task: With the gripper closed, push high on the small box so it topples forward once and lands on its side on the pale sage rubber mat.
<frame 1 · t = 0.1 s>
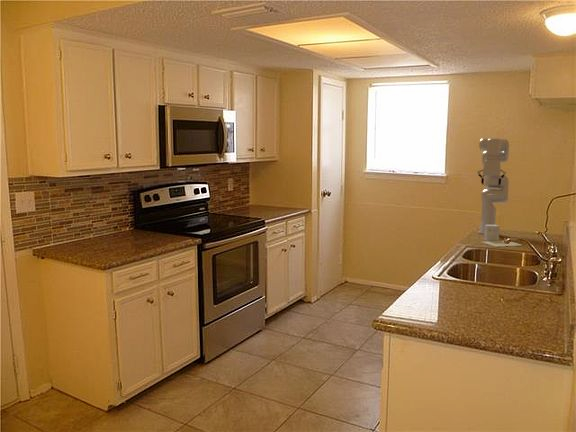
hand: (490, 184, 319), 37 cm above the countertop, tool pointing down, fingers open, 9 cm apart
small box: (491, 241, 326), on the countertop
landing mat: (501, 244, 315), on the countertop
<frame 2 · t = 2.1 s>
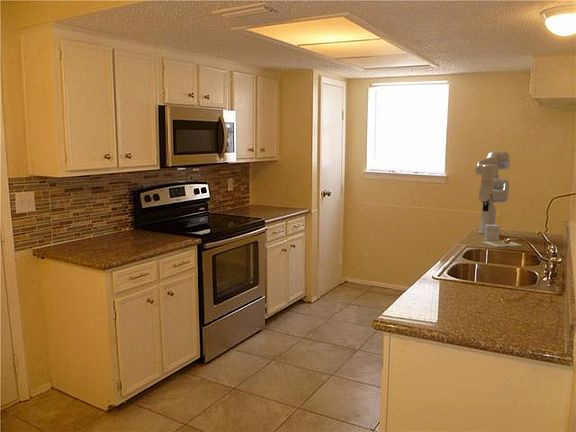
hand: (485, 211, 331), 19 cm above the countertop, tool pointing down, fingers closed
nothing on the countertop moved.
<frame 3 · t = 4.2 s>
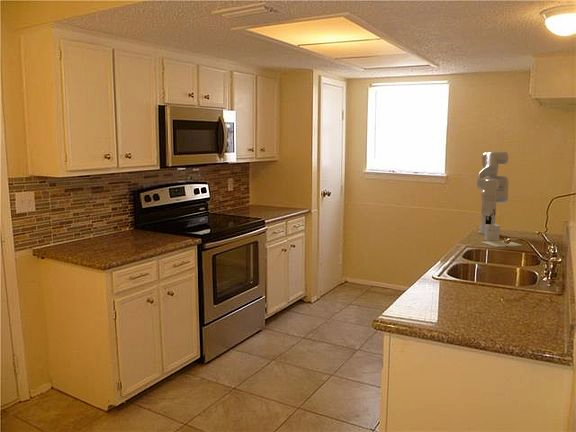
hand: (488, 225, 329), 9 cm above the countertop, tool pointing down, fingers closed
small box: (491, 240, 326), on the countertop, touching gripper
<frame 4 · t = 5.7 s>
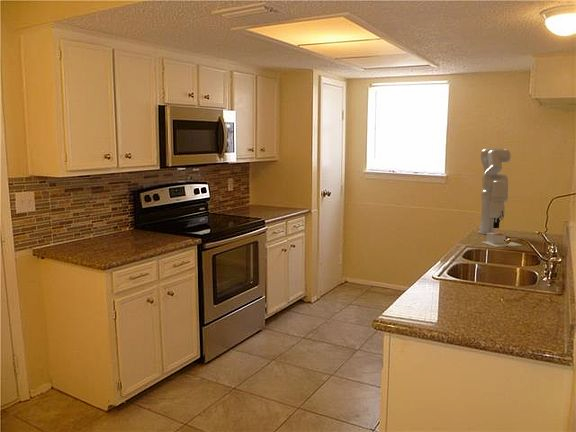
hand: (496, 228, 321), 9 cm above the countertop, tool pointing down, fingers closed
small box: (492, 236, 324), point 3 cm above the countertop, touching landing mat
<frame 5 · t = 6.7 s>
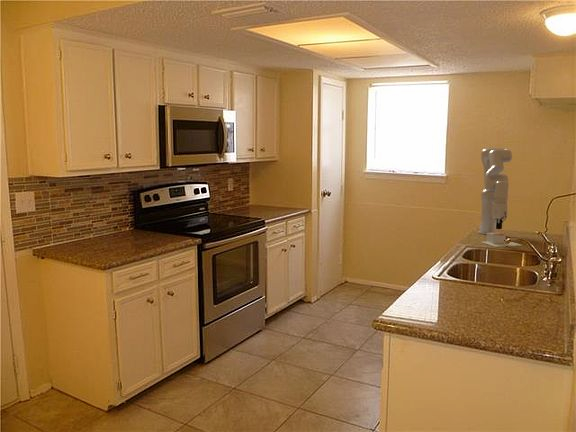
hand: (498, 228, 318), 9 cm above the countertop, tool pointing down, fingers closed
nothing on the countertop moved.
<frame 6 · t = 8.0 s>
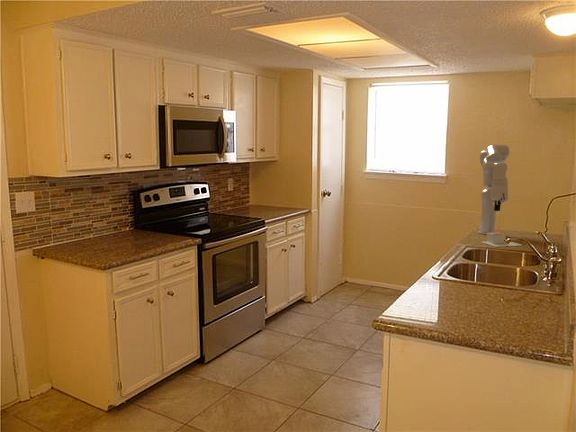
hand: (497, 210, 320), 21 cm above the countertop, tool pointing down, fingers closed
nothing on the countertop moved.
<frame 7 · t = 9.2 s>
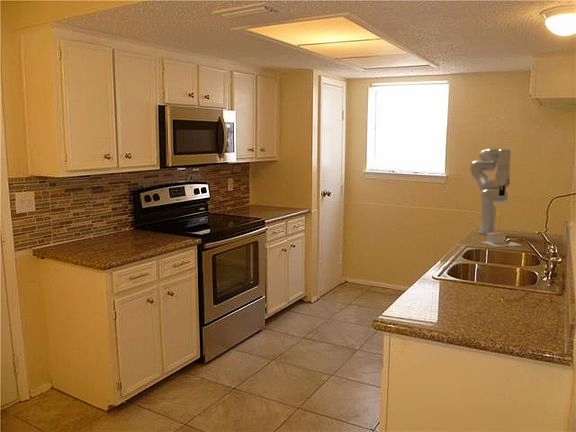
hand: (501, 195, 330), 29 cm above the countertop, tool pointing down, fingers closed
nothing on the countertop moved.
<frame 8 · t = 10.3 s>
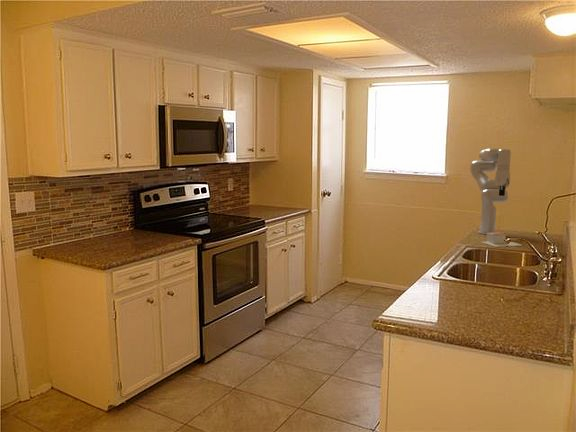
hand: (501, 195, 330), 29 cm above the countertop, tool pointing down, fingers closed
nothing on the countertop moved.
at the end: small box tilted 90°; small box inside the target area (3.6 cm from its centre), point 3.3 cm above the countertop; small box touching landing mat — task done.
